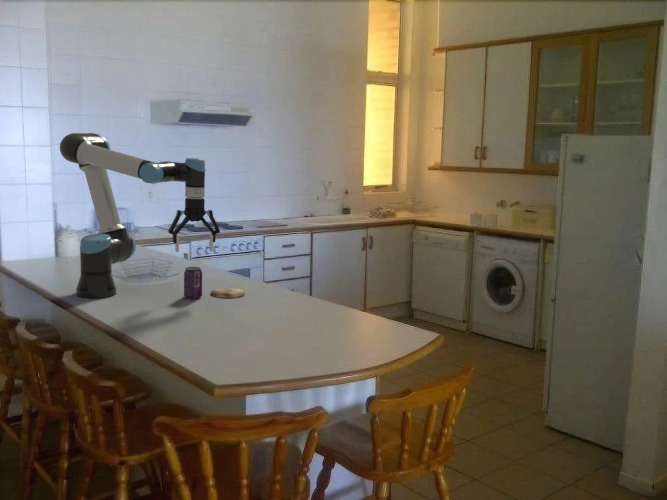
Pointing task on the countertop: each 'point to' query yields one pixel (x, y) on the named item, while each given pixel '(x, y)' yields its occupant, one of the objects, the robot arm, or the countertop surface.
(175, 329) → the countertop surface
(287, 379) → the countertop surface
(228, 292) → the coaster
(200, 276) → the beverage can
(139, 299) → the countertop surface
